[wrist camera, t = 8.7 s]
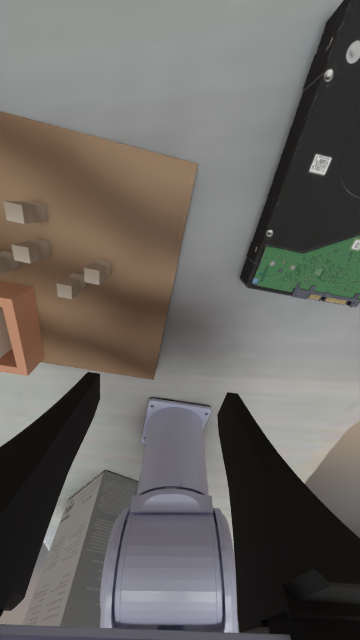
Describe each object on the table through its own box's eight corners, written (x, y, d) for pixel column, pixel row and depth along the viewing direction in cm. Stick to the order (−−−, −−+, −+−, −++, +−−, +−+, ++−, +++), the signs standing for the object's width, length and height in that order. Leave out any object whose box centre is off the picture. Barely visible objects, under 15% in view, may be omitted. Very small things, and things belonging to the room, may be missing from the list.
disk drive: (317, 25, 11) (237, 279, 18) (354, -26, 9) (245, 290, 16) (479, 70, 12) (342, 297, 19) (555, 35, 10) (366, 311, 17)
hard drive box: (102, 509, 43) (48, 718, 25) (67, 499, 40) (-19, 721, 23) (143, 482, 37) (108, 732, 19) (105, 468, 34) (26, 738, 17)
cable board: (155, 369, 23) (150, 399, 20) (-35, 339, 21) (-77, 365, 18) (196, 167, 14) (201, 155, 11) (-131, 81, 12) (-257, 31, 9)
